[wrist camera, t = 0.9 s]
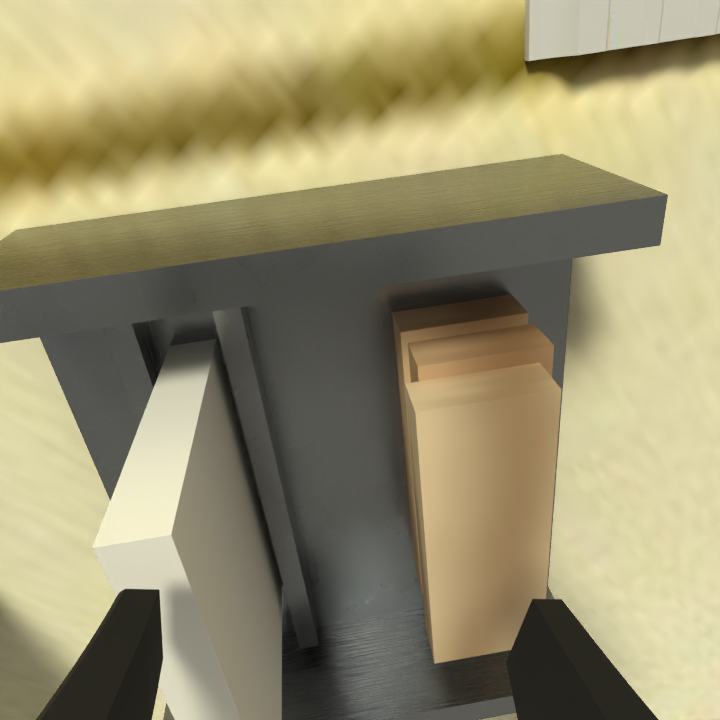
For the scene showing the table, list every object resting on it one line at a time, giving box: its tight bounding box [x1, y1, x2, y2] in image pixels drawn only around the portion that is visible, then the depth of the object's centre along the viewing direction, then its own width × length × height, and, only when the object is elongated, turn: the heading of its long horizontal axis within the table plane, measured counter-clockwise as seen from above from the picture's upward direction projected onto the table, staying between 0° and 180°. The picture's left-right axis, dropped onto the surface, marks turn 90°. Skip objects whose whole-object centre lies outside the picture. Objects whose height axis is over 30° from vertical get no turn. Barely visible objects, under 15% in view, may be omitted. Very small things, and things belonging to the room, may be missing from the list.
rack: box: [0, 154, 668, 720], centre depth 20 cm, size 17×20×6 cm
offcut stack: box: [392, 294, 561, 664], centre depth 20 cm, size 4×12×4 cm, turn 7°
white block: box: [93, 339, 282, 720], centre depth 18 cm, size 2×12×8 cm, turn 7°
